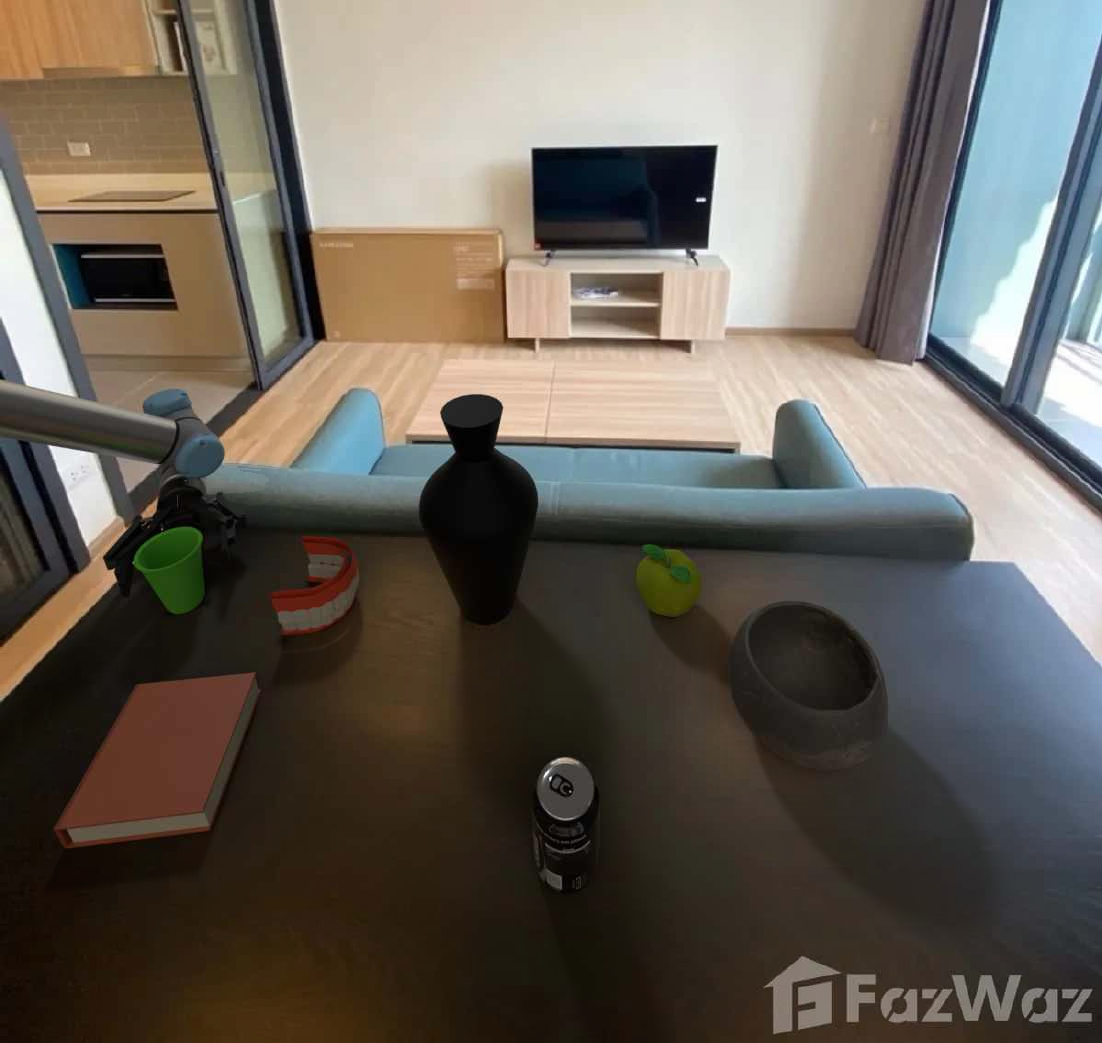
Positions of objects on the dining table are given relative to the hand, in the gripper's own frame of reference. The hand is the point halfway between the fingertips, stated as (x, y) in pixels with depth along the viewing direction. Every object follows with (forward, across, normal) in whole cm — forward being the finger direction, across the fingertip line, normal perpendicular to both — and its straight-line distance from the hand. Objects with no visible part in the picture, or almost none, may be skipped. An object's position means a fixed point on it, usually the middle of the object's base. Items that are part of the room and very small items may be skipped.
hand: (176, 573), depth 91 cm
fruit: (+37, -66, -6) cm, 76 cm away
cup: (-1, 0, -7) cm, 7 cm away
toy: (+11, -20, -7) cm, 24 cm away
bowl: (+59, -70, -7) cm, 91 cm away
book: (+26, 0, -6) cm, 27 cm away
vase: (+23, -42, -7) cm, 48 cm away
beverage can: (+57, -37, -7) cm, 68 cm away
